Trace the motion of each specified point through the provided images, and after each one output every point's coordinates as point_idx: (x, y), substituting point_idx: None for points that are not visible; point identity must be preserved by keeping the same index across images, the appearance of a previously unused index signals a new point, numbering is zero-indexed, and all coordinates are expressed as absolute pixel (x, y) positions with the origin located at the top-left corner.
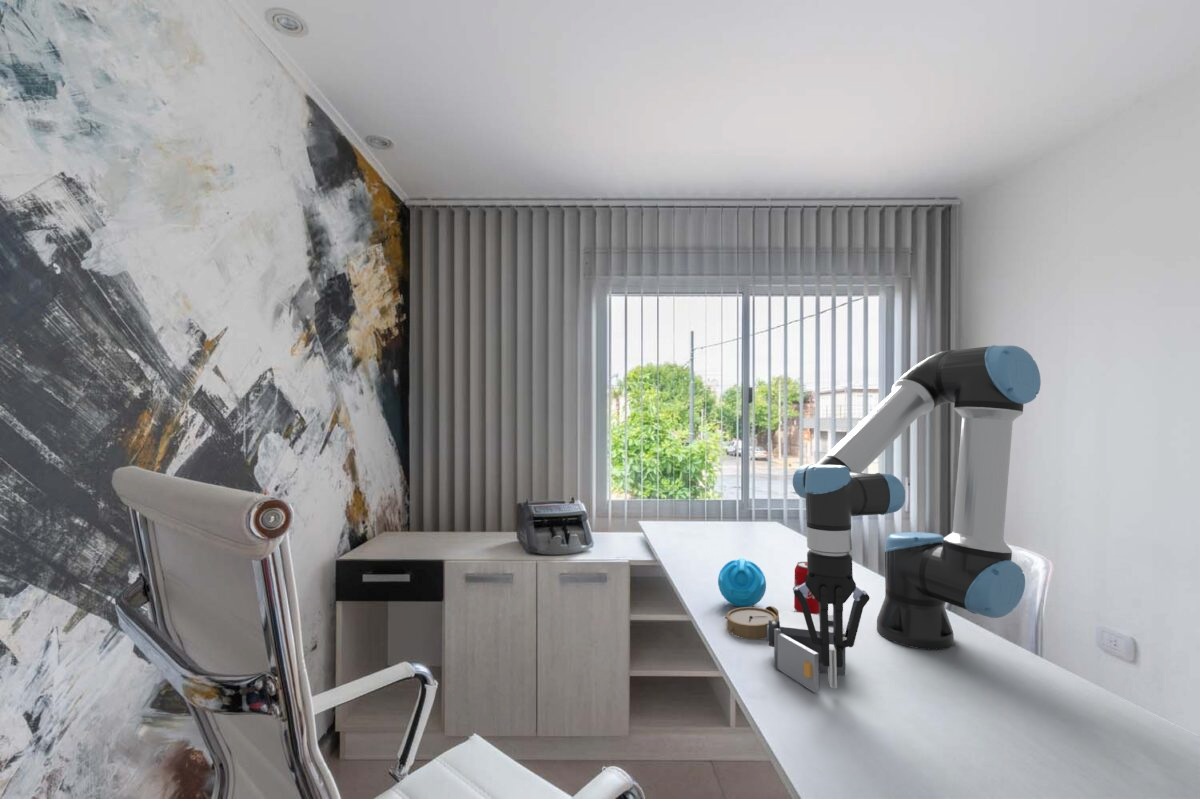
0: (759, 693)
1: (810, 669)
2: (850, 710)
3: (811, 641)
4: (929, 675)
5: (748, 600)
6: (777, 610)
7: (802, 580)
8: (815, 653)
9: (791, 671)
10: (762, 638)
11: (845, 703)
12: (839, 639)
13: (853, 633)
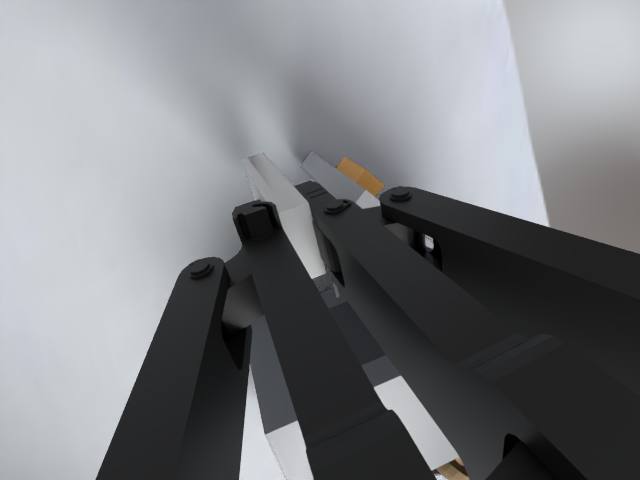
0: (461, 59)
1: (351, 171)
2: (178, 104)
3: (372, 347)
4: (15, 474)
5: None
6: (452, 476)
7: None
8: (361, 202)
9: None
10: None
11: (205, 147)
12: (270, 256)
13: (178, 325)
